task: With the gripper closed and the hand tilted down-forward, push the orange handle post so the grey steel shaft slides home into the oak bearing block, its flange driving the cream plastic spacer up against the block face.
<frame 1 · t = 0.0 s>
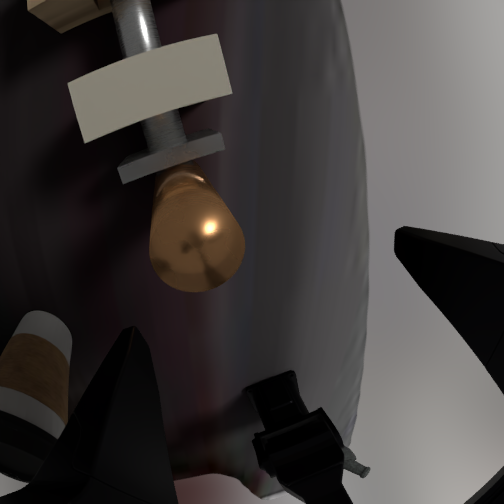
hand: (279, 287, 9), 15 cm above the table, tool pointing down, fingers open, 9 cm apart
spacer: (154, 95, 17), on the table
shaft: (136, 35, 11), point 6 cm above the table, slide at 0.0 cm
coffee cup: (46, 332, 23), on the table
mortar and pestle: (325, 442, 52), on the table
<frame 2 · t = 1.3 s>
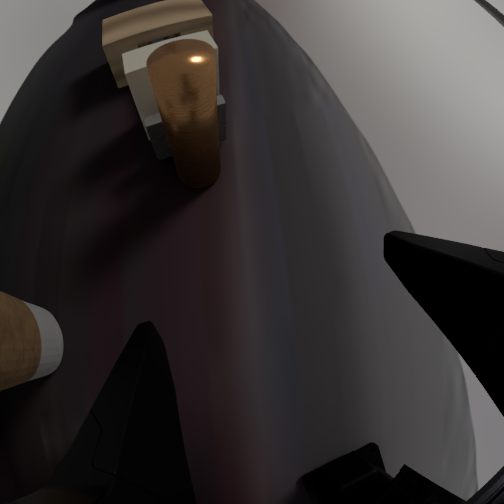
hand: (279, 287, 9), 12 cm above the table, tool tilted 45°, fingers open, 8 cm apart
spacer: (181, 118, 25), on the table
shaft: (165, 51, 20), point 6 cm above the table, slide at 0.0 cm
coffee cup: (39, 341, 19), on the table
bearing block: (160, 57, 28), on the table
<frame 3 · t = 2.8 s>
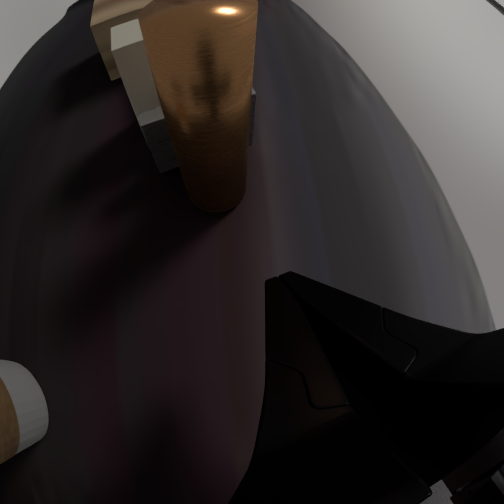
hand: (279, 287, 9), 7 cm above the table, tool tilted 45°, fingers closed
spacer: (190, 116, 19), on the table
shaft: (169, 28, 14), point 6 cm above the table, slide at 0.0 cm
coffee cup: (20, 402, 13), on the table
bearing block: (164, 43, 22), on the table
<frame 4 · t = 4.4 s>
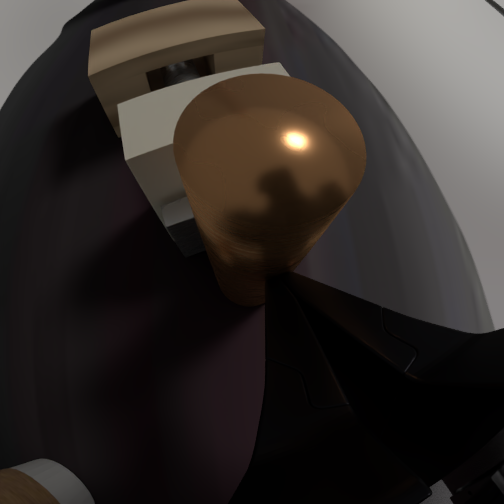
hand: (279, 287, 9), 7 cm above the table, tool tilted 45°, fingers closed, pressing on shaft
spacer: (220, 200, 18), on the table
shaft: (188, 74, 13), point 6 cm above the table, slide at 1.6 cm, touching gripper
coffee cup: (62, 492, 11), on the table
bearing block: (179, 86, 20), on the table
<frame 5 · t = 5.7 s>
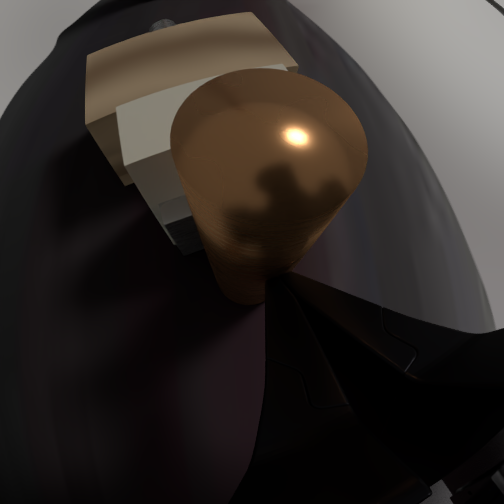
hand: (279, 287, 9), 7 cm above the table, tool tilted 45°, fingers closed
spacer: (221, 203, 17), on the table, touching shaft
shaft: (187, 71, 13), point 6 cm above the table, slide at 6.3 cm, touching spacer
bearing block: (191, 121, 19), on the table
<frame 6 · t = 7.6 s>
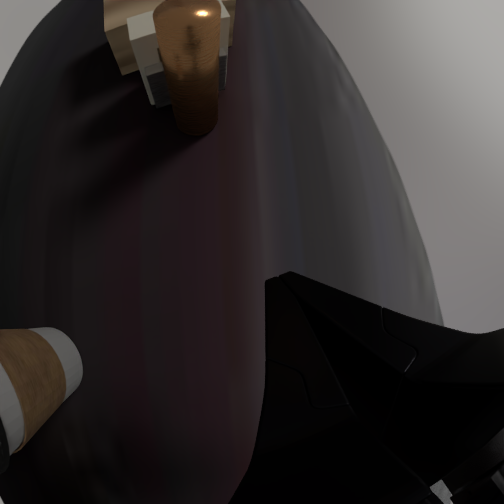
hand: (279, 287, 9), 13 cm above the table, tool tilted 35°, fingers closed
spacer: (184, 82, 23), on the table, touching shaft
shaft: (167, 4, 17), point 6 cm above the table, slide at 6.3 cm, touching spacer
coffee cup: (55, 360, 19), on the table
bearing block: (170, 38, 23), on the table
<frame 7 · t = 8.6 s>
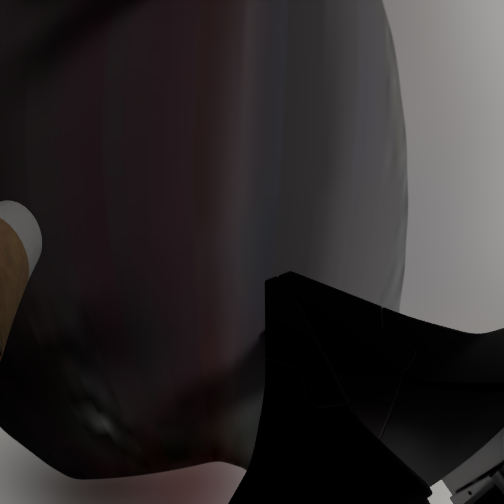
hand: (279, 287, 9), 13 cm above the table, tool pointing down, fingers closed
coffee cup: (12, 235, 17), on the table
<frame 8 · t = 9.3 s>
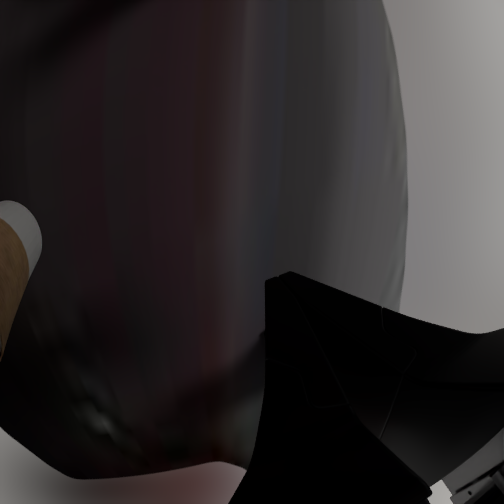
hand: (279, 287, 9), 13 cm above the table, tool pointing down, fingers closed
coffee cup: (12, 235, 17), on the table
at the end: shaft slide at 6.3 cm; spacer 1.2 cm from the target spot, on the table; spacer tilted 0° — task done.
